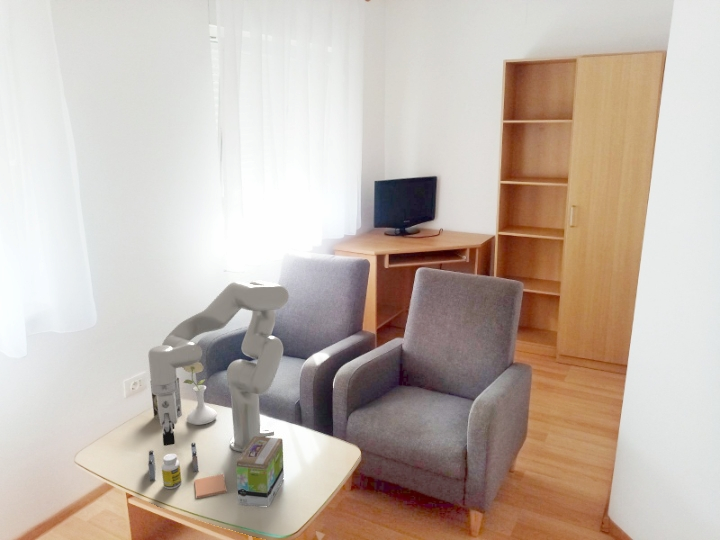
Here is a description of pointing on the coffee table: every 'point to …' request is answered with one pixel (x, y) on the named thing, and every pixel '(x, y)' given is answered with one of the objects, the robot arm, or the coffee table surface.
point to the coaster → (210, 486)
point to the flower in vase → (199, 399)
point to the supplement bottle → (171, 471)
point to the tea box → (260, 471)
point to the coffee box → (178, 402)
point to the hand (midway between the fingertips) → (169, 436)
